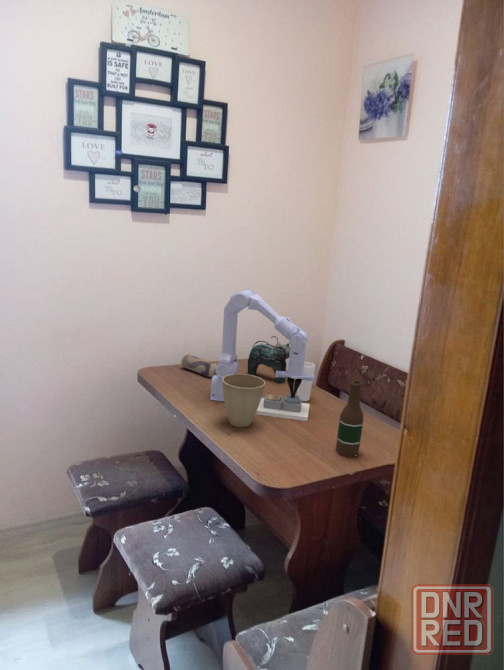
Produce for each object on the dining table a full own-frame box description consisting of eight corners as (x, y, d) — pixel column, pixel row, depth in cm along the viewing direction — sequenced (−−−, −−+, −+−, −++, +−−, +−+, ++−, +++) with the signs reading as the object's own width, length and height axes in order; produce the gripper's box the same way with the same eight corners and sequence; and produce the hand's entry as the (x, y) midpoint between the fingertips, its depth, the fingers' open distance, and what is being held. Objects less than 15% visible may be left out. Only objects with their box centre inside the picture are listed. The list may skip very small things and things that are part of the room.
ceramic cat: (289, 382, 237) (293, 338, 232) (282, 386, 232) (286, 341, 227) (251, 372, 247) (255, 329, 242) (243, 375, 242) (247, 332, 237)
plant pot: (230, 434, 180) (233, 389, 176) (212, 417, 193) (215, 375, 189) (269, 429, 187) (273, 385, 183) (249, 412, 200) (253, 372, 196)
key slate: (285, 404, 201) (286, 398, 201) (286, 400, 205) (287, 394, 205) (297, 405, 201) (298, 399, 200) (298, 401, 205) (299, 395, 204)
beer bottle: (332, 446, 178) (341, 377, 172) (355, 447, 178) (365, 378, 173) (338, 457, 170) (347, 385, 164) (362, 458, 171) (372, 386, 165)
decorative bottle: (179, 369, 243) (180, 355, 242) (191, 366, 249) (192, 352, 247) (221, 384, 228) (222, 369, 226) (233, 381, 234) (234, 366, 232)
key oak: (267, 405, 202) (267, 398, 202) (268, 401, 207) (269, 394, 206) (278, 406, 202) (279, 400, 201) (279, 402, 206) (280, 396, 205)
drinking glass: (310, 403, 214) (314, 367, 210) (293, 401, 215) (297, 365, 212) (311, 397, 220) (315, 363, 217) (295, 395, 222) (299, 360, 218)
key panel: (253, 414, 199) (254, 402, 198) (258, 400, 212) (259, 390, 211) (307, 421, 196) (308, 409, 195) (309, 407, 210) (310, 396, 209)
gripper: (275, 363, 196) (272, 398, 199) (315, 368, 194) (311, 403, 198) (277, 358, 203) (274, 391, 206) (316, 362, 201) (312, 396, 204)
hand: (292, 397), depth 202 cm, fingers closed, pressing on key slate
